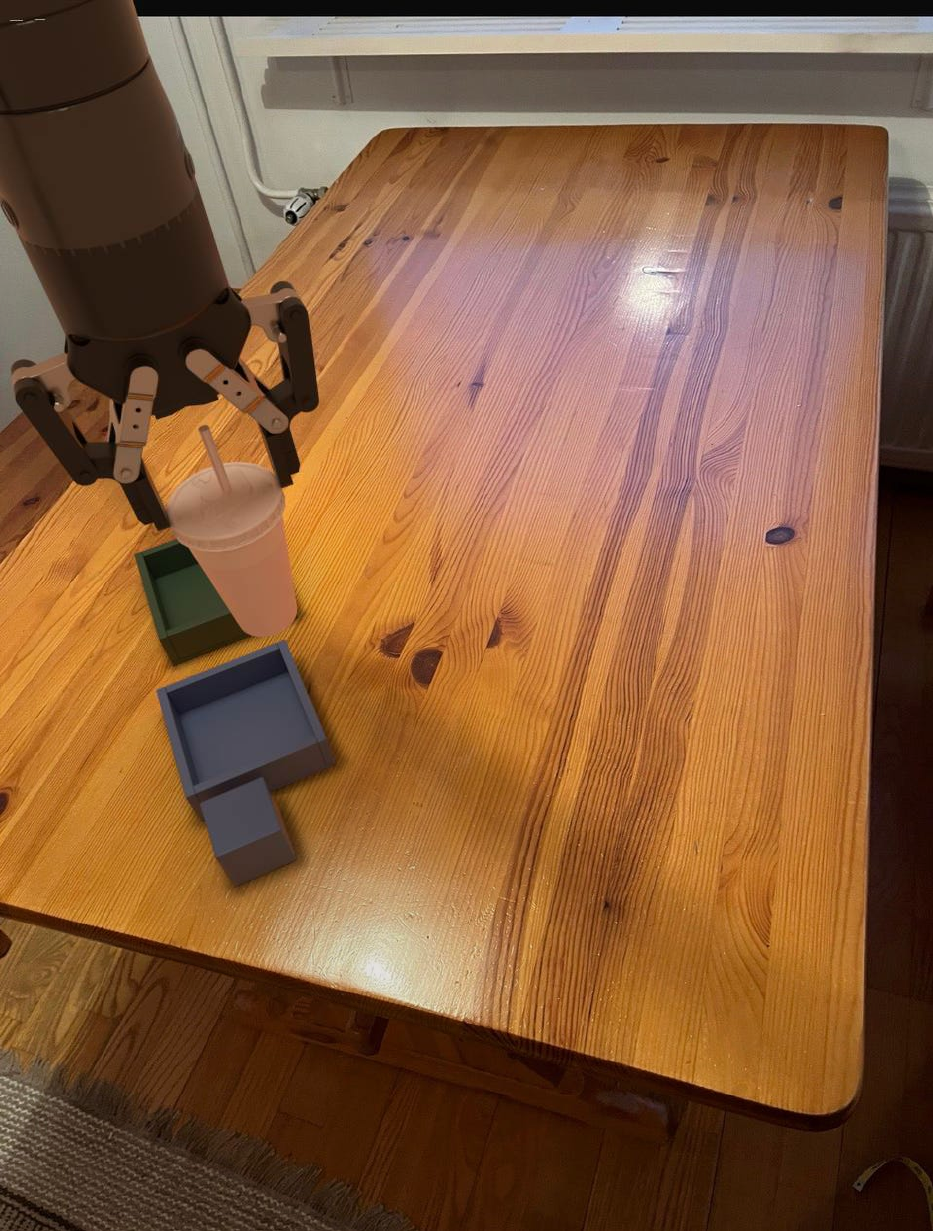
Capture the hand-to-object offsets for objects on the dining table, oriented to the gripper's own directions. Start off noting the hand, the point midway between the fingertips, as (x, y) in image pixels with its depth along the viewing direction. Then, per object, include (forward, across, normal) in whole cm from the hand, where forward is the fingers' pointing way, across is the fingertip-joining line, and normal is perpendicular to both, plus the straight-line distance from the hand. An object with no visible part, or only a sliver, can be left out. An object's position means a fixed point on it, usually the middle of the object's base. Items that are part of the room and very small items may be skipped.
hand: (222, 498), depth 51 cm
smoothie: (+10, 0, 0) cm, 10 cm away
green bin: (+26, +3, -19) cm, 32 cm away
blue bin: (+26, +5, -4) cm, 26 cm away
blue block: (+26, +6, +6) cm, 27 cm away
